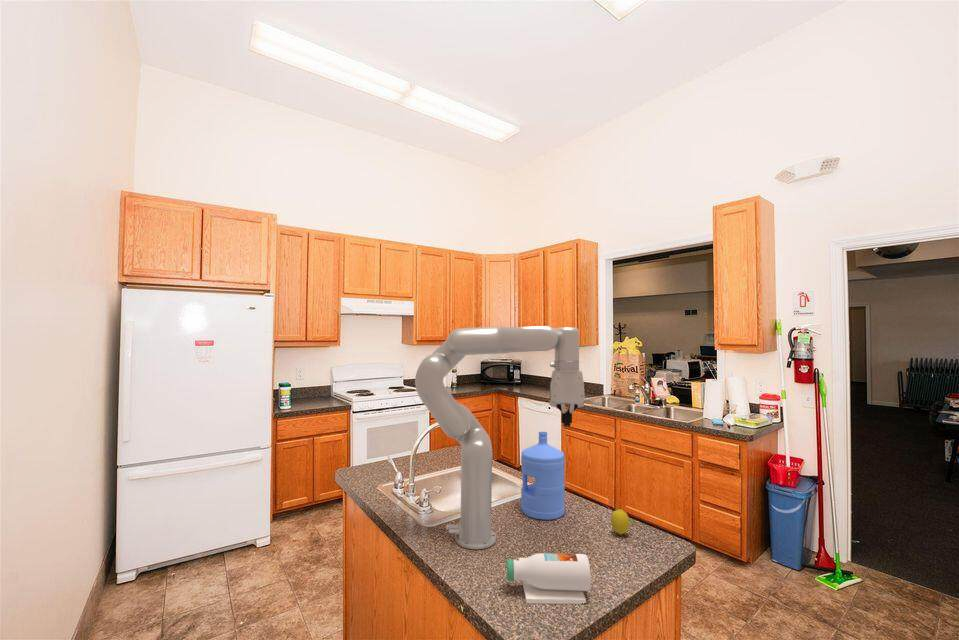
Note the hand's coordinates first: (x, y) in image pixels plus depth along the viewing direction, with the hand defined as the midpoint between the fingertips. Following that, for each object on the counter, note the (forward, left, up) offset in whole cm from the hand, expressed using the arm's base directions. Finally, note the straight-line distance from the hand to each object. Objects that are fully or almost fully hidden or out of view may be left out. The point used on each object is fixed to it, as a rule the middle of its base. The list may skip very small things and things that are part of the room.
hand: (566, 425), depth 127 cm
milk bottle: (0, -26, -30) cm, 40 cm away
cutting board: (-9, -21, -35) cm, 42 cm away
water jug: (-4, +21, -35) cm, 41 cm away
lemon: (+18, +4, -35) cm, 40 cm away
